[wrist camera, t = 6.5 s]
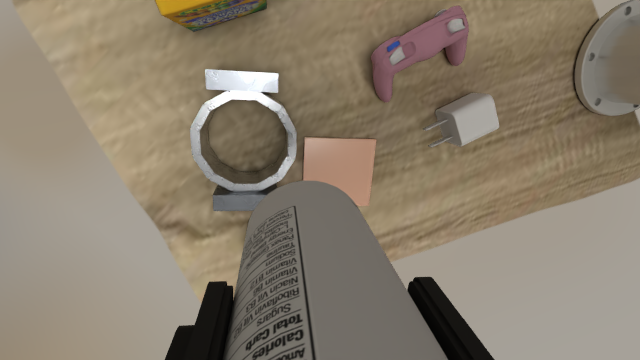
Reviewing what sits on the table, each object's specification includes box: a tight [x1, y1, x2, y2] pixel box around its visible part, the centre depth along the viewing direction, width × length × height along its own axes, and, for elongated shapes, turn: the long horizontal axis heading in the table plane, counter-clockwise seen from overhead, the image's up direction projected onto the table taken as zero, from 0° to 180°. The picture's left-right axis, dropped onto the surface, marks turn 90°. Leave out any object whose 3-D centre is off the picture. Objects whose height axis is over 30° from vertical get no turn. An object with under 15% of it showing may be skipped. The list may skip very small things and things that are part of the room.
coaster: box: [303, 137, 376, 206], centre depth 35 cm, size 8×8×1 cm
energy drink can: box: [222, 181, 448, 360], centre depth 10 cm, size 6×6×15 cm
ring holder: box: [190, 69, 297, 211], centre depth 30 cm, size 13×10×5 cm
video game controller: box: [371, 6, 469, 102], centre depth 30 cm, size 10×5×7 cm, turn 116°
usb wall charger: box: [423, 93, 499, 147], centre depth 34 cm, size 4×7×4 cm, turn 114°
